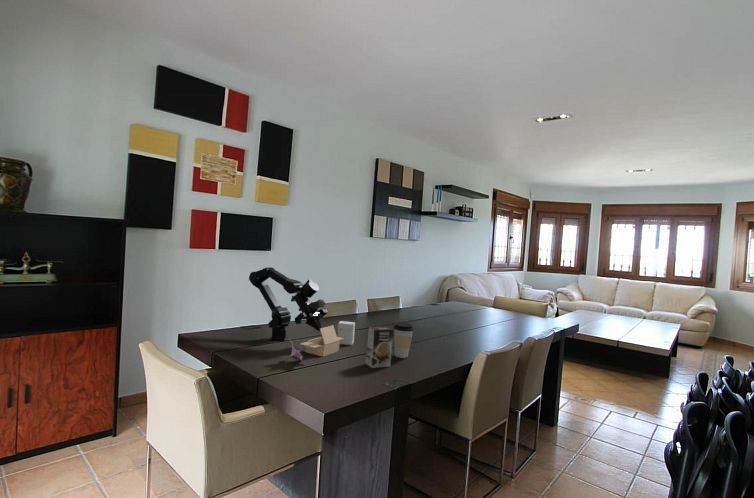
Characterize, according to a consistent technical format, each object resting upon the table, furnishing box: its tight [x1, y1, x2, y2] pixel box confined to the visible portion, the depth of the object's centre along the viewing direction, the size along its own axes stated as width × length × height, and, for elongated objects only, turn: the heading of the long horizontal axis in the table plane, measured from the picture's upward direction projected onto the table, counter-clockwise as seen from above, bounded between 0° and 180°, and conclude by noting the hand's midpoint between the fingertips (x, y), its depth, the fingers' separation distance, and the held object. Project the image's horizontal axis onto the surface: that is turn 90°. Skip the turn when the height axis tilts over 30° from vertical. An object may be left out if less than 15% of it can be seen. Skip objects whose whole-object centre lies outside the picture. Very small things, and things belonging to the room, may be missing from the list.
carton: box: [300, 336, 344, 358], centre depth 183 cm, size 11×22×5 cm, turn 151°
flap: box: [320, 324, 338, 345], centre depth 181 cm, size 8×10×1 cm
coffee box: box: [365, 326, 395, 369], centre depth 170 cm, size 9×6×16 cm
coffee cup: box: [393, 322, 414, 359], centre depth 186 cm, size 9×9×15 cm
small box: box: [336, 320, 356, 346], centre depth 200 cm, size 8×6×10 cm
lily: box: [285, 339, 305, 366], centre depth 163 cm, size 12×12×10 cm
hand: (321, 331), depth 184 cm, fingers closed
